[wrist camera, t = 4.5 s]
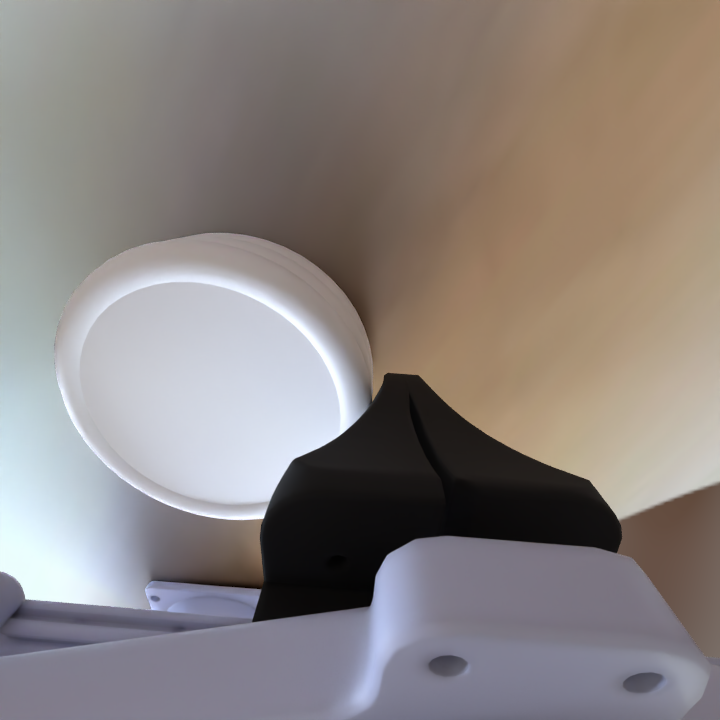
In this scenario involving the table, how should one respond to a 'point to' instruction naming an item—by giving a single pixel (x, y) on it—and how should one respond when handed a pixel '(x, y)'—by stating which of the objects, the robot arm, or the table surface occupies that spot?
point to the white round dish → (211, 368)
